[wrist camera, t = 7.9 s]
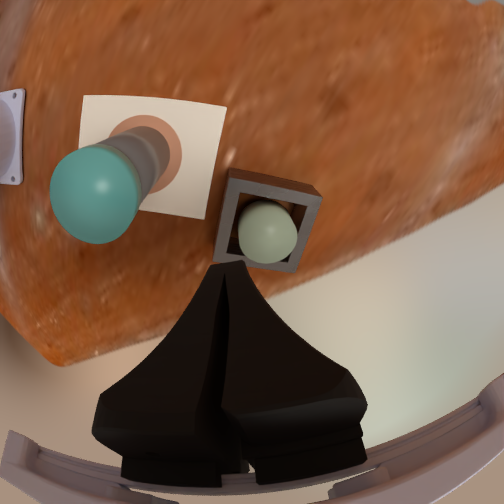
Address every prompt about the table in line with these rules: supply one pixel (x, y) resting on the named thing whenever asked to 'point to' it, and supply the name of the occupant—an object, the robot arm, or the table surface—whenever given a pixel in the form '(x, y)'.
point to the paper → (178, 138)
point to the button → (266, 232)
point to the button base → (267, 187)
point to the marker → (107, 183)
